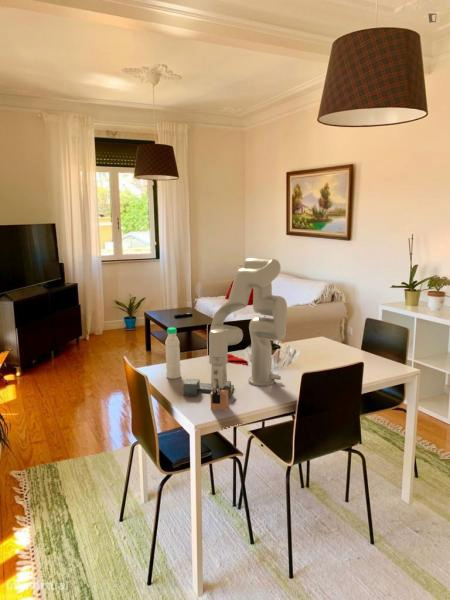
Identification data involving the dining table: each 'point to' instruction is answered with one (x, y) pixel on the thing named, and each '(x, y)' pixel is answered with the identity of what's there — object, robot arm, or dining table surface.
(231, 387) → the gray dumbbell
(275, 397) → the dining table surface
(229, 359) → the cloth
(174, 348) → the water bottle
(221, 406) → the block
